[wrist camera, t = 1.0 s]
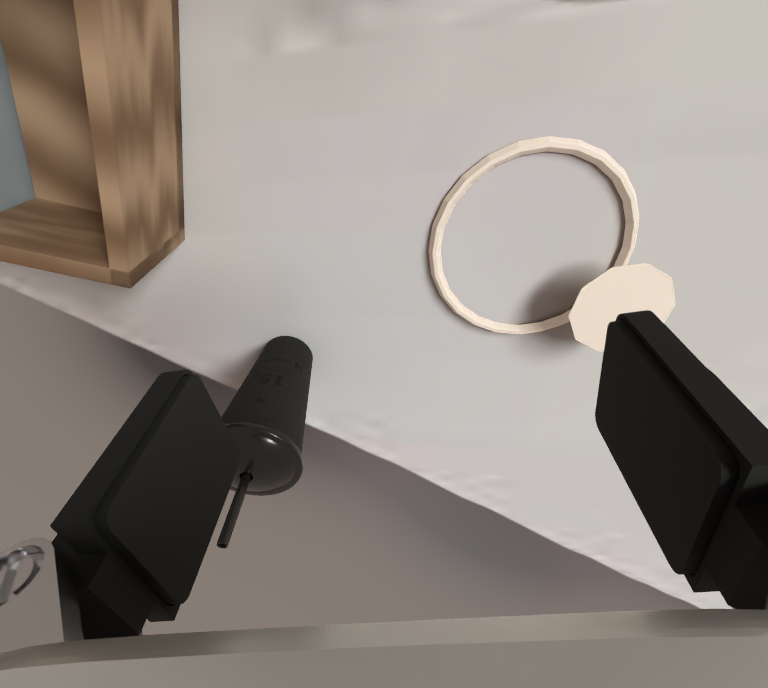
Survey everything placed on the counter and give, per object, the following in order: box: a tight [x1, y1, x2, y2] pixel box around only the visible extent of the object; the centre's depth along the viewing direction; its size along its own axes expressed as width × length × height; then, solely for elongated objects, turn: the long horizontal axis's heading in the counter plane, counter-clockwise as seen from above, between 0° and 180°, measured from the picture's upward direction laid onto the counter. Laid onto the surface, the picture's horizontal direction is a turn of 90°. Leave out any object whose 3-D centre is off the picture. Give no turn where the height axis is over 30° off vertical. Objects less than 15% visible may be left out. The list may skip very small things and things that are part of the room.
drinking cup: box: [217, 336, 313, 548], centre depth 35 cm, size 8×8×20 cm
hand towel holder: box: [428, 136, 676, 351], centre depth 35 cm, size 17×4×20 cm
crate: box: [0, 0, 185, 288], centre depth 27 cm, size 20×11×9 cm, turn 167°
